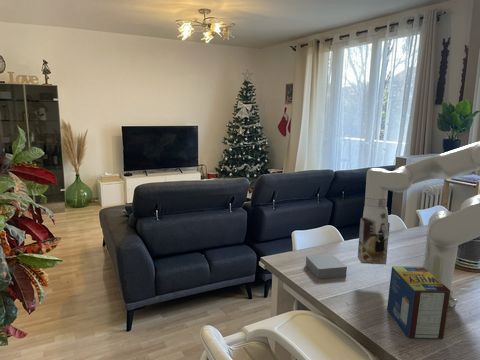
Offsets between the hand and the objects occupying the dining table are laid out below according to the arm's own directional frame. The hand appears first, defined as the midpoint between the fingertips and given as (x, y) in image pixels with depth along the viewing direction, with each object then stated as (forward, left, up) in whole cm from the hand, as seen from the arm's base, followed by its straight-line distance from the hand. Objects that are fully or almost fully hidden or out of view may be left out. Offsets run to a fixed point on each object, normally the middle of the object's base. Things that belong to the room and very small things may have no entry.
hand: (372, 247), depth 131 cm
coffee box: (0, 0, -6) cm, 6 cm away
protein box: (-26, +2, -14) cm, 30 cm away
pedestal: (+12, +13, -14) cm, 22 cm away
